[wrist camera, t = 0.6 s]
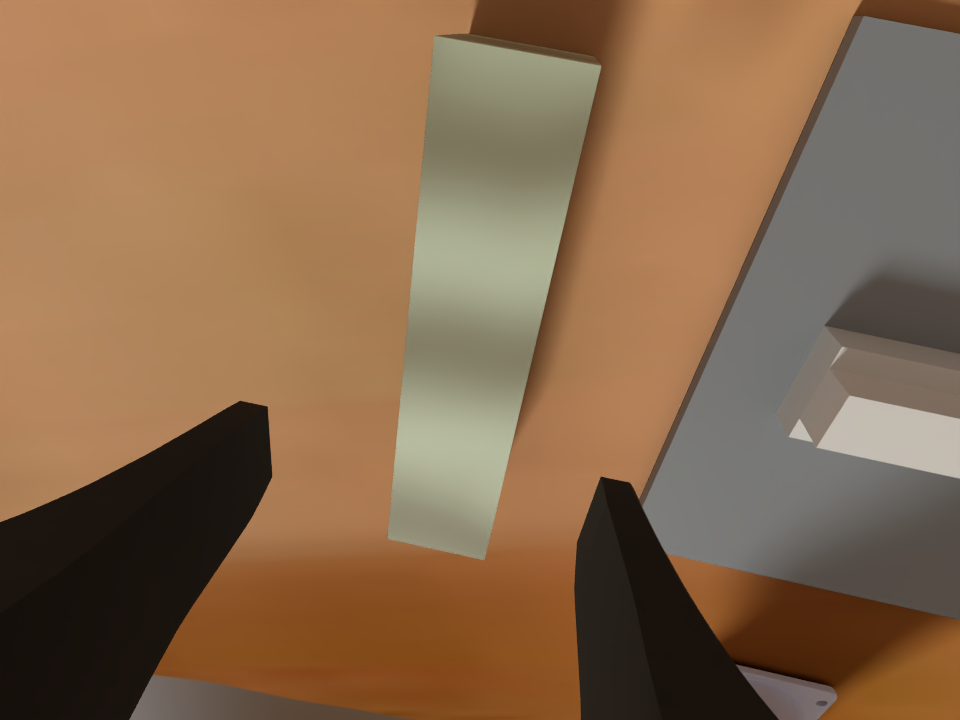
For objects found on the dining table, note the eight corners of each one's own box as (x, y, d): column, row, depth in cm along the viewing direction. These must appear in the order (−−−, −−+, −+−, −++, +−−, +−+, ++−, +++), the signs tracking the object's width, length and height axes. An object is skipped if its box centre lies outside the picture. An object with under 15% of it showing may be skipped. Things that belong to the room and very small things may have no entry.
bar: (499, 467, 24) (484, 560, 20) (419, 449, 24) (387, 538, 20) (593, 55, 16) (601, 65, 12) (470, 33, 16) (433, 35, 12)
